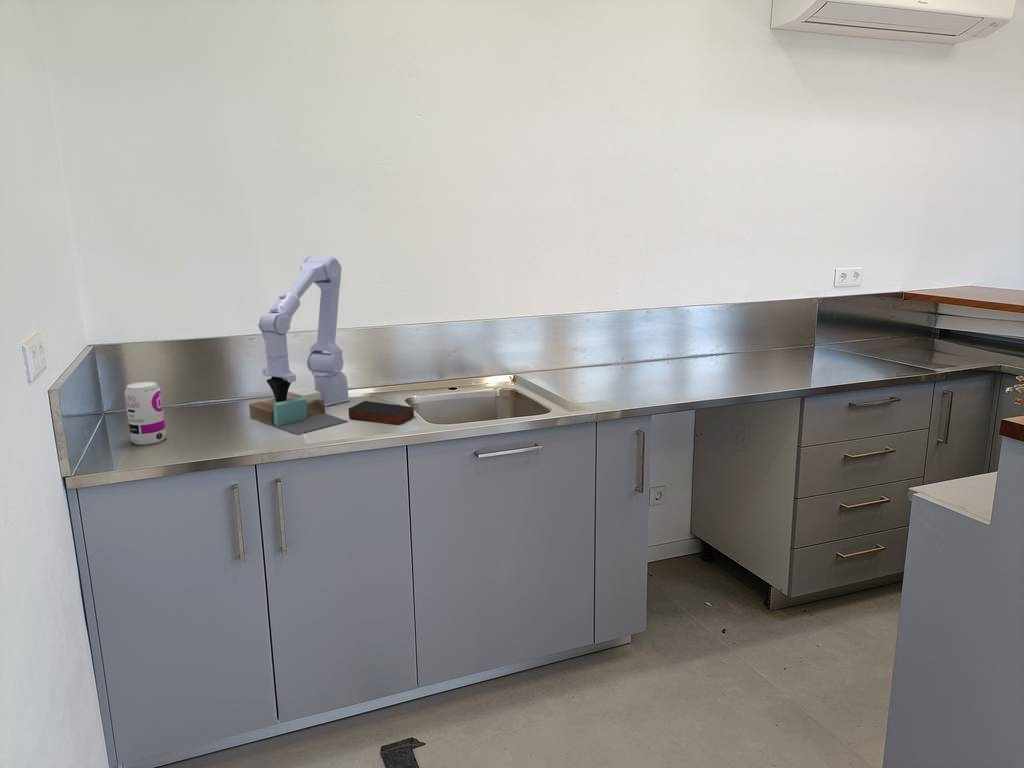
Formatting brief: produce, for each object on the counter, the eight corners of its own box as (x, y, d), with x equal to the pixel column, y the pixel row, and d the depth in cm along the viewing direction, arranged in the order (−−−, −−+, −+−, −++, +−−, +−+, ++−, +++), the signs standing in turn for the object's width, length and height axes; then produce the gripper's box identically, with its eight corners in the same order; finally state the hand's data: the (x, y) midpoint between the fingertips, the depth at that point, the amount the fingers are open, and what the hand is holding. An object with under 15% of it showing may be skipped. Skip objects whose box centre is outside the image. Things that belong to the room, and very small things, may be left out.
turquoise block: (302, 396, 205) (306, 398, 204) (302, 416, 207) (306, 418, 206) (273, 403, 199) (277, 405, 198) (274, 423, 201) (277, 425, 200)
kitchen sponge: (399, 426, 201) (425, 411, 214) (398, 415, 200) (425, 401, 213) (342, 418, 207) (371, 403, 221) (341, 408, 206) (370, 394, 220)
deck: (302, 405, 221) (301, 392, 220) (324, 412, 213) (323, 399, 212) (250, 417, 209) (248, 403, 208) (271, 425, 201) (270, 411, 200)
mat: (323, 413, 212) (323, 413, 212) (347, 421, 204) (347, 420, 204) (273, 426, 200) (273, 425, 200) (296, 435, 192) (296, 434, 192)
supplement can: (171, 435, 193) (164, 380, 190) (158, 445, 185) (150, 388, 182) (140, 436, 193) (133, 381, 189) (125, 446, 185) (117, 389, 181)
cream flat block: (286, 397, 215) (285, 390, 214) (304, 393, 219) (303, 386, 219) (302, 402, 209) (302, 395, 208) (321, 398, 213) (320, 391, 213)
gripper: (250, 354, 204) (255, 401, 207) (277, 361, 194) (281, 410, 197) (273, 350, 209) (278, 396, 212) (301, 357, 199) (304, 405, 202)
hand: (281, 403), depth 205 cm, fingers closed
